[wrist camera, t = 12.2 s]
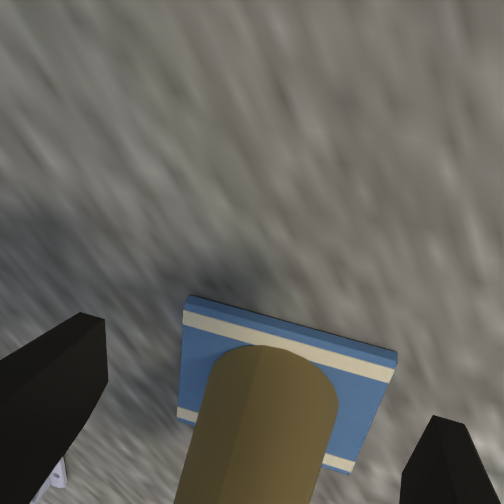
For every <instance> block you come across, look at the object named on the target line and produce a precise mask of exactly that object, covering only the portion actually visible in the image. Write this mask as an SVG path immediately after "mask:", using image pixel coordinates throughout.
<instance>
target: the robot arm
mask: <svg viewBox="0 0 504 504" xmlns="http://www.w3.org/2000/svg"><path fill="white" fill-rule="evenodd" d="M107 383H108V367H107V350H106V333H105V319H102V318H99V317H95V316H92V315H89V314H85V313H82V312H79V313H78V314H76V315H74V316H73V317H71V318H69V319H67V320H66V321H64V322H62V323H61V324H59V325H57V326H56V327H54V328H53V329H51V330H49V331H48V332H46V333H44V334H43V335H41V336H40V337H38V338H36V339H35V340H33V341H31V342H30V343H28V344H26V345H25V346H23V347H21V348H20V349H18V350H17V351H15V352H13V353H11V354H10V355H8V356H6V357H5V358H3V359H1V360H0V504H38V503H39V501H40V500H41V498H42V497H43V495H44V494H45V492H46V491H47V489H48V488H49V486H50V485H52V486H55V487H58V488H64V487H65V486H66V484H67V476H66V470H65V463H64V457H63V455H64V454H65V453H66V451H67V450H68V448H69V447H70V445H71V444H72V443H73V441H74V440H75V438H76V437H77V435H78V434H79V432H80V431H81V430H82V428H83V427H84V425H85V424H86V422H87V420H88V419H89V417H90V415H91V413H92V411H93V410H94V408H95V406H96V404H97V402H98V400H99V398H100V397H101V395H102V393H103V391H104V389H105V387H106V385H107ZM399 504H501V503H500V500H499V498H498V496H497V494H496V492H495V490H494V488H493V486H492V483H491V481H490V479H489V477H488V475H487V473H486V470H485V468H484V466H483V464H482V461H481V459H480V457H479V455H478V452H477V450H476V448H475V446H474V443H473V441H472V439H471V437H470V434H469V432H468V430H467V428H466V426H465V425H464V424H462V423H459V422H455V421H452V420H448V419H445V418H442V417H438V416H435V415H433V416H432V418H431V419H430V421H429V423H428V425H427V427H426V429H425V431H424V433H423V434H422V436H421V438H420V440H419V442H418V444H417V446H416V448H415V450H414V451H413V453H412V455H411V457H410V459H409V461H408V463H407V465H406V466H405V468H404V470H403V472H402V478H401V490H400V502H399Z"/></svg>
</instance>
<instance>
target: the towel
mask: <svg viewBox="0 0 504 504" xmlns="http://www.w3.org/2000/svg"><path fill="white" fill-rule="evenodd" d="M254 345H266V346H271V347H276V348H281V349H286V350H288V351H290V352H292V353H295V354H297V355H299V356H301V357H304V358H306V359H307V360H309V361H310V362H311V363H312V364H314V365H315V366H316V367H318V368H319V369H320V370H321V371H323V372H324V374H325V375H326V376H327V378H328V379H329V380H330V382H331V383H332V385H333V386H334V387H335V391H336V394H337V398H338V401H339V406H338V412H337V418H336V421H335V424H334V427H333V430H332V434H331V437H330V440H329V443H328V446H327V449H326V453H325V456H324V459H323V462H322V465H321V467H324V468H327V469H330V470H334V471H337V472H340V473H343V474H346V475H349V474H350V472H351V471H352V469H353V467H354V464H355V460H356V458H357V456H358V453H359V451H360V449H361V446H362V444H363V442H364V439H365V437H366V435H367V432H368V430H369V428H370V425H371V423H372V421H373V418H374V416H375V414H376V411H377V409H378V406H379V404H380V402H381V399H382V397H383V395H384V392H385V390H386V388H387V385H388V383H390V380H391V378H392V376H393V373H394V371H395V367H396V364H397V352H394V351H390V350H387V349H383V348H379V347H376V346H372V345H369V344H365V343H361V342H358V341H354V340H351V339H347V338H343V337H340V336H336V335H333V334H329V333H325V332H322V331H318V330H315V329H311V328H307V327H304V326H300V325H296V324H293V323H289V322H286V321H282V320H278V319H275V318H271V317H268V316H264V315H260V314H257V313H253V312H250V311H246V310H242V309H239V308H235V307H232V306H228V305H224V304H221V303H217V302H214V301H210V300H206V299H203V298H199V297H196V296H192V295H189V297H188V298H187V300H186V301H185V306H184V310H183V337H182V353H181V368H180V384H179V400H178V406H177V420H178V421H180V422H184V423H187V424H190V425H193V426H195V424H196V421H197V417H198V413H199V410H200V406H201V402H202V399H203V395H204V392H205V388H206V384H207V381H208V377H209V374H210V372H211V369H212V367H213V365H214V362H215V361H216V360H218V359H219V358H220V357H221V356H222V355H223V354H225V353H226V352H228V351H231V350H233V349H236V348H239V347H242V346H254Z"/></svg>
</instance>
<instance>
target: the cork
mask: <svg viewBox="0 0 504 504" xmlns="http://www.w3.org/2000/svg"><path fill="white" fill-rule="evenodd" d="M338 406H339V401H338V398H337V394H336V391H335V387H334V386H333V385H332V383H331V382H330V380H329V379H328V378H327V376H326V375H325V374H324V372H323V371H321V370H320V369H319V368H318V367H316V366H315V365H314V364H312V363H311V362H310V361H309V360H307V359H306V358H304V357H301V356H299V355H297V354H295V353H292V352H290V351H288V350H286V349H281V348H276V347H271V346H266V345H254V346H242V347H239V348H236V349H233V350H231V351H228V352H226V353H225V354H223V355H222V356H221V357H220V358H219V359H218V360H216V361H215V362H214V365H213V367H212V369H211V372H210V374H209V377H208V381H207V384H206V388H205V392H204V395H203V399H202V402H201V406H200V410H199V413H198V417H197V421H196V424H195V428H194V431H193V435H192V439H191V442H190V446H189V449H188V453H187V457H186V460H185V464H184V468H183V471H182V475H181V478H180V482H179V486H178V489H177V493H176V496H175V500H174V504H309V503H310V500H311V497H312V494H313V490H314V487H315V484H316V481H317V478H318V475H319V471H320V468H321V465H322V462H323V459H324V456H325V453H326V449H327V446H328V443H329V440H330V437H331V434H332V430H333V427H334V424H335V421H336V418H337V412H338Z"/></svg>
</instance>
